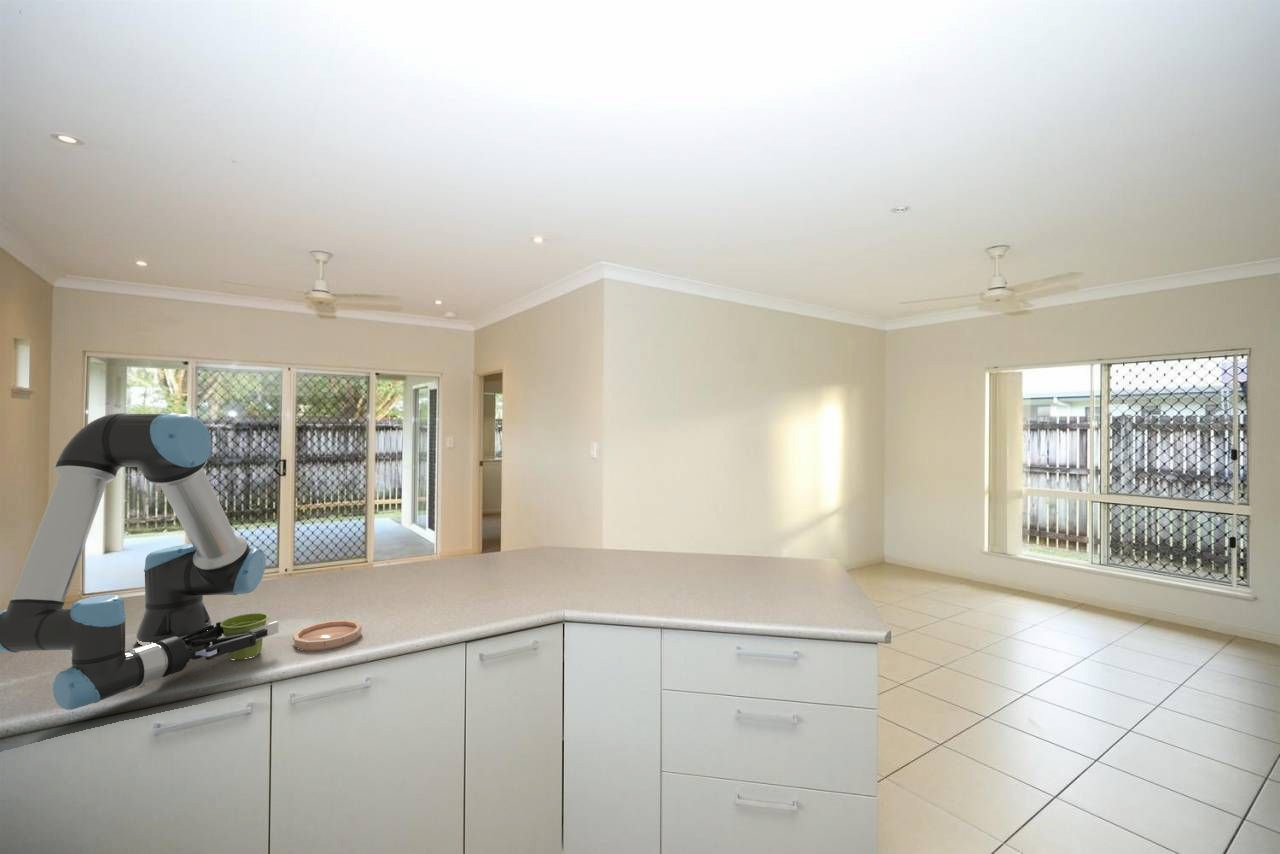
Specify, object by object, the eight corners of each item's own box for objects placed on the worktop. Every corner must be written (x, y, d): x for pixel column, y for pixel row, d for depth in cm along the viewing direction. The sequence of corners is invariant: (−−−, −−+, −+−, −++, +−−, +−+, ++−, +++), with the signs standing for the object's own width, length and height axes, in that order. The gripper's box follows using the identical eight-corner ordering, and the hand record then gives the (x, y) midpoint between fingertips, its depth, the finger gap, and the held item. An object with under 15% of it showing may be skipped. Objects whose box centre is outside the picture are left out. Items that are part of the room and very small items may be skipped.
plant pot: (229, 668, 129) (228, 629, 129) (214, 657, 135) (214, 621, 135) (275, 654, 137) (274, 618, 137) (259, 645, 143) (259, 610, 143)
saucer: (279, 645, 142) (279, 636, 142) (332, 625, 156) (332, 617, 156) (323, 654, 137) (323, 645, 137) (373, 633, 151) (373, 624, 151)
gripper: (127, 670, 123) (235, 633, 144) (190, 686, 115) (295, 645, 136) (127, 635, 123) (235, 603, 144) (190, 649, 115) (294, 614, 136)
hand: (264, 624), depth 140 cm, fingers closed on plant pot, 8 cm apart
